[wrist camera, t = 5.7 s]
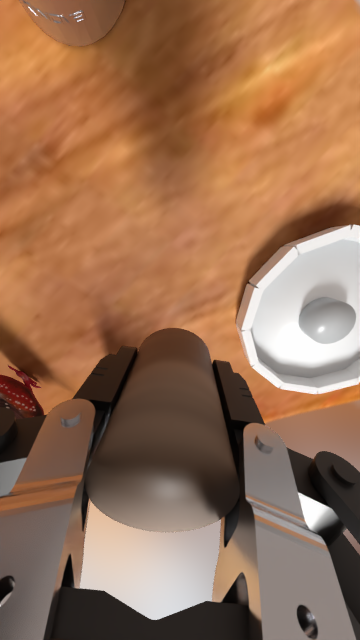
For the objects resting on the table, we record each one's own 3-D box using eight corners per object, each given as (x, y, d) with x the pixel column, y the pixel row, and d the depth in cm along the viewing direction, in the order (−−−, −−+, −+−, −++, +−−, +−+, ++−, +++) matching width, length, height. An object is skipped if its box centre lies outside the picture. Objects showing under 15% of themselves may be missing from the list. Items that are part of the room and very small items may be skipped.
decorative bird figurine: (-12, 337, 25) (-126, 391, 16) (93, 414, 30) (51, 490, 20) (-22, 350, 26) (-137, 408, 17) (81, 423, 30) (36, 500, 21)
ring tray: (267, 214, 19) (278, 210, 17) (440, 247, 20) (474, 247, 18) (221, 368, 26) (225, 380, 24) (352, 388, 27) (368, 402, 25)
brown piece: (141, 322, 10) (81, 428, 4) (217, 334, 10) (260, 452, 4) (135, 384, 11) (86, 524, 6) (202, 393, 11) (219, 538, 6)
